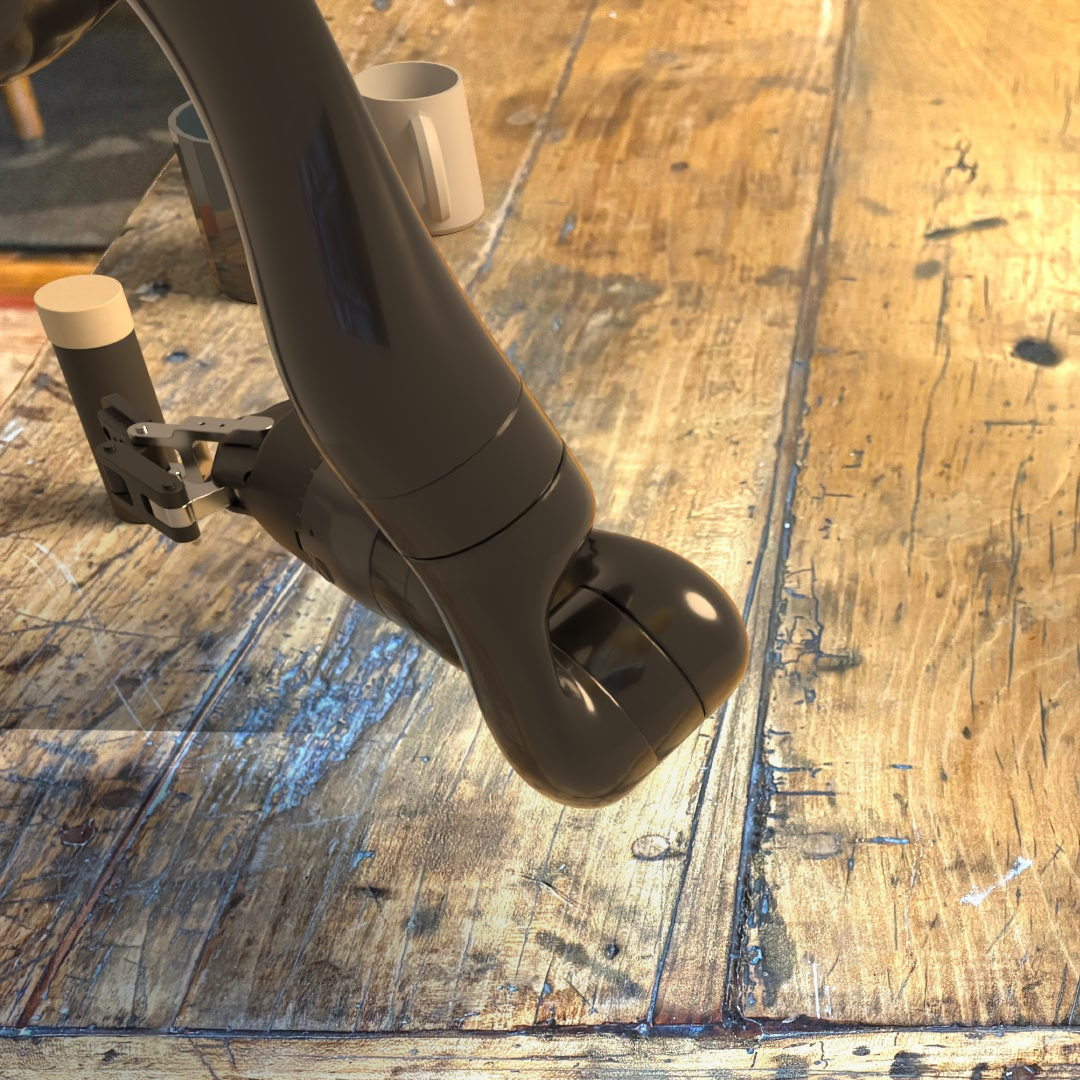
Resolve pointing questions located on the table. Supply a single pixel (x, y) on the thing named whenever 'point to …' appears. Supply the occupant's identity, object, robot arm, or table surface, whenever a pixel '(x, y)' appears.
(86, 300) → the glue stick
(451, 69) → the cup
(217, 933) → the table surface
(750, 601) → the table surface
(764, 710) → the table surface
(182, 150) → the pencil cup
